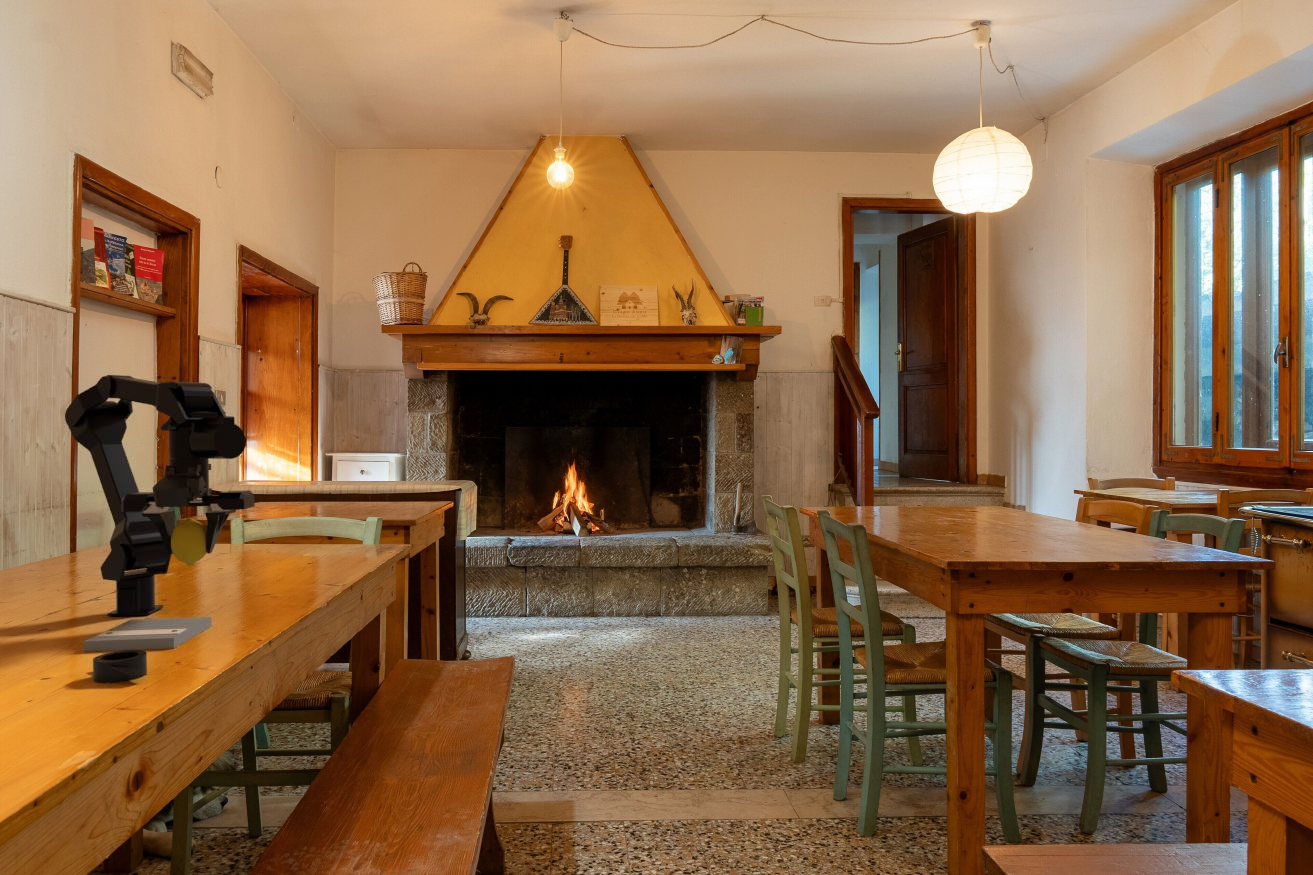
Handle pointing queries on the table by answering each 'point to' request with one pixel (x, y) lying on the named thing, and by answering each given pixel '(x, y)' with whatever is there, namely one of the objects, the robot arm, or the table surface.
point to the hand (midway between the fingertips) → (190, 553)
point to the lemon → (189, 541)
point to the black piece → (119, 666)
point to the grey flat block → (148, 634)
